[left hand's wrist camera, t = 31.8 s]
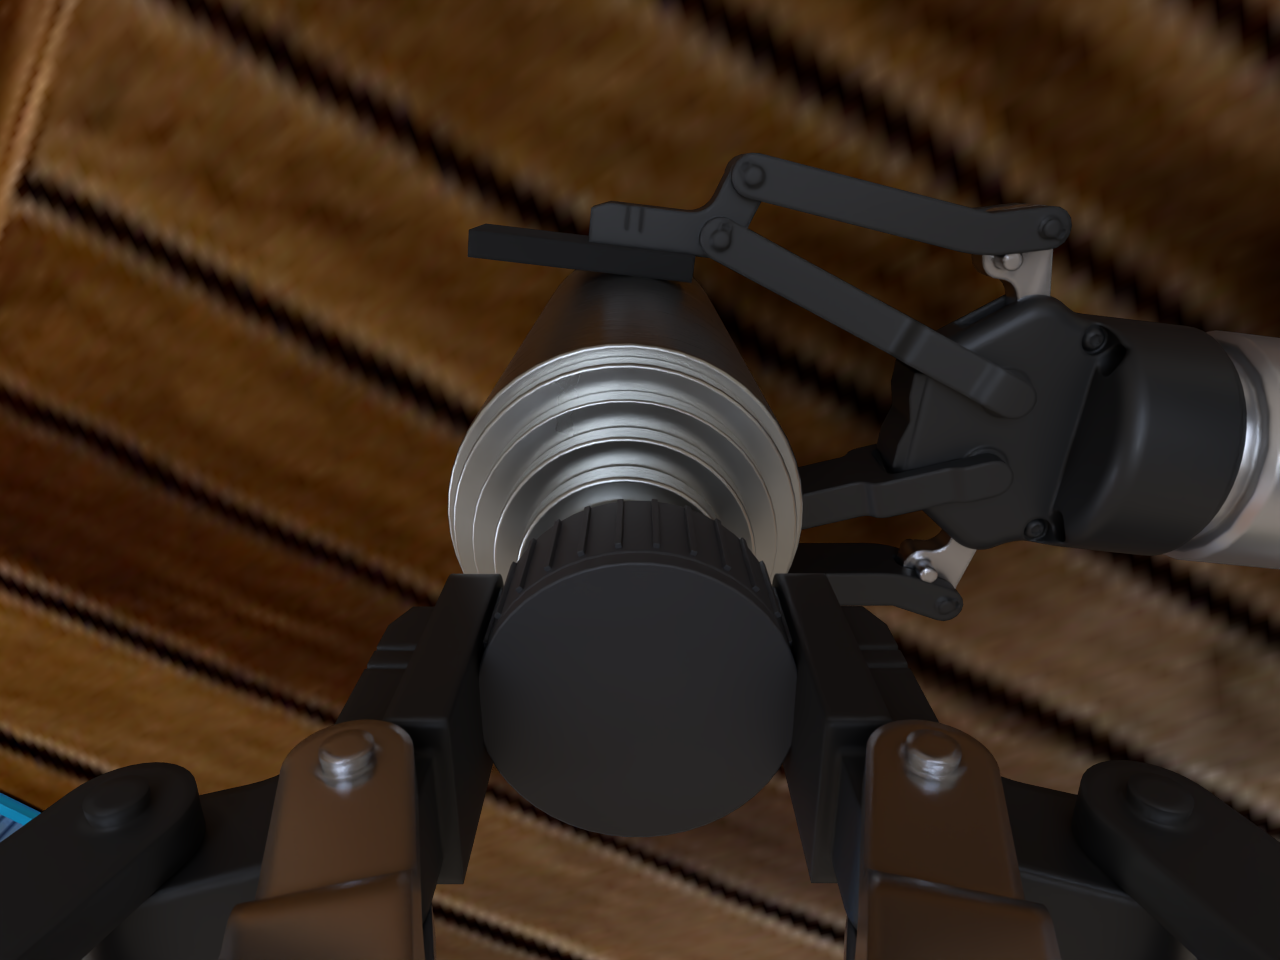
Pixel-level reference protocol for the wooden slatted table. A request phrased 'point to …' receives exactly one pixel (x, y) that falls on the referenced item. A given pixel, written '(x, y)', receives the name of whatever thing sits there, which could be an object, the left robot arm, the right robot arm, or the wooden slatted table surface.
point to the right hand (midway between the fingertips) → (472, 365)
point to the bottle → (623, 426)
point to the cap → (637, 671)
